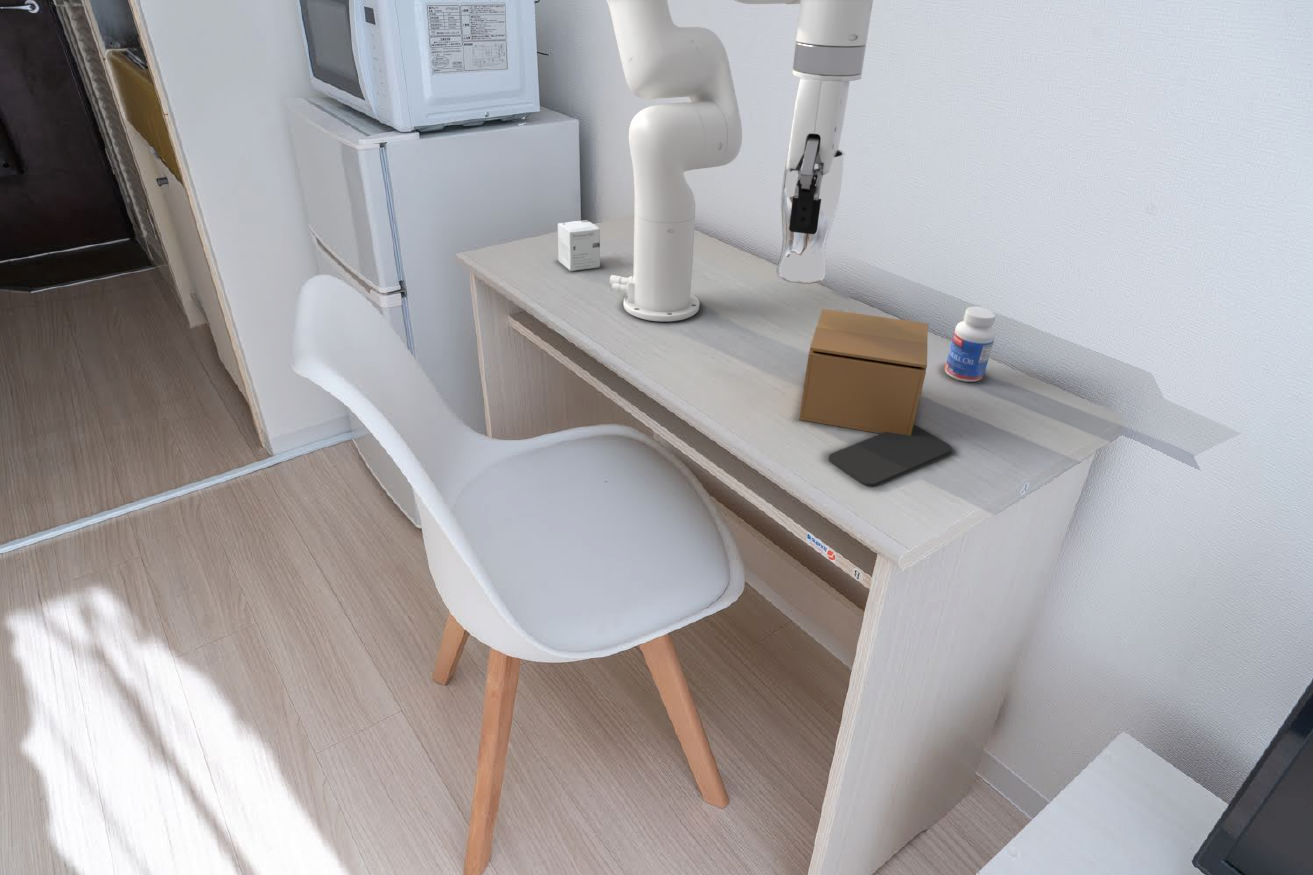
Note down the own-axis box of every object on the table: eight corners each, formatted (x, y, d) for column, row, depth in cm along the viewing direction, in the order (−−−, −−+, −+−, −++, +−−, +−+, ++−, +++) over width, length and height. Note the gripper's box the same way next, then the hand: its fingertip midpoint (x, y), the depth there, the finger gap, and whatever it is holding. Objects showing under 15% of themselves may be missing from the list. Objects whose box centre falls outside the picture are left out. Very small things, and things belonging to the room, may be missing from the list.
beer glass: (827, 288, 97) (846, 160, 89) (769, 282, 98) (783, 155, 90) (829, 268, 103) (847, 147, 95) (774, 263, 104) (788, 142, 96)
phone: (824, 455, 96) (910, 421, 103) (823, 461, 97) (908, 427, 104) (869, 486, 91) (956, 448, 98) (868, 492, 91) (955, 454, 98)
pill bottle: (936, 372, 116) (952, 309, 111) (957, 362, 119) (973, 301, 114) (970, 386, 113) (987, 323, 108) (990, 376, 116) (1008, 313, 111)
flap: (821, 311, 109) (822, 308, 109) (927, 326, 106) (927, 323, 106) (815, 330, 104) (816, 327, 104) (926, 346, 101) (927, 343, 100)
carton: (811, 375, 114) (821, 308, 109) (912, 391, 111) (928, 323, 106) (798, 419, 104) (809, 347, 98) (910, 438, 100) (927, 365, 95)
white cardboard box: (570, 272, 146) (569, 232, 142) (558, 261, 150) (556, 222, 146) (600, 267, 148) (600, 228, 144) (587, 257, 153) (587, 218, 149)
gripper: (805, 51, 95) (787, 201, 105) (780, 69, 81) (763, 240, 91) (869, 55, 94) (845, 207, 103) (855, 75, 80) (830, 249, 89)
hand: (807, 222), depth 97 cm, fingers closed on beer glass, 7 cm apart
